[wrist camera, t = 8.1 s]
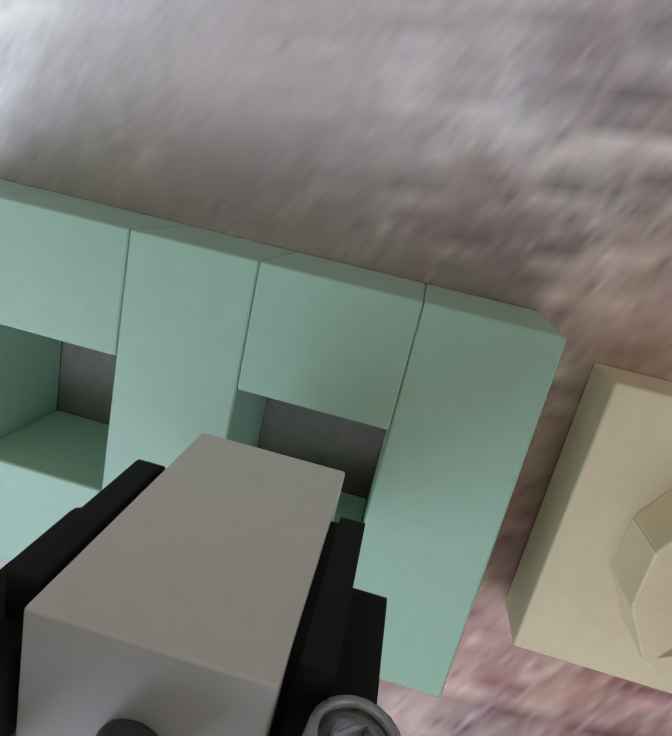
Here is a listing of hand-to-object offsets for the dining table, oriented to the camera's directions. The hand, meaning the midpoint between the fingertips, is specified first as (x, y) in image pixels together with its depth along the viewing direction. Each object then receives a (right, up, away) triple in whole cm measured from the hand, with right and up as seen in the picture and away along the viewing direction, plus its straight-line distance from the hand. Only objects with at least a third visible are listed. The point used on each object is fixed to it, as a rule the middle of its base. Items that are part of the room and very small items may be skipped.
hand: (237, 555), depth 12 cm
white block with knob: (0, 0, +2) cm, 2 cm away
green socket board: (-2, +3, +8) cm, 9 cm away
